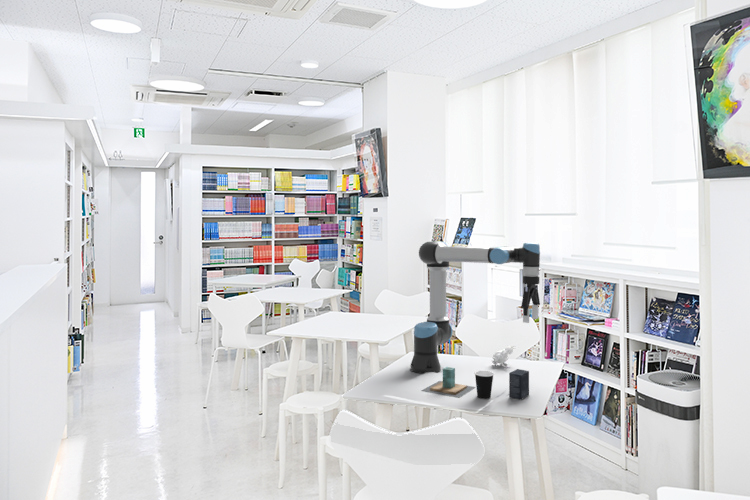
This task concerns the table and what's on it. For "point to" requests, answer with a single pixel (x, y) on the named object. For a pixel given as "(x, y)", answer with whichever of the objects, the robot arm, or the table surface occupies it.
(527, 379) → the box
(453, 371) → the lid
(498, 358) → the character figurine
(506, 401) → the table surface
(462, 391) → the mat
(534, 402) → the table surface
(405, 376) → the table surface
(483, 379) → the dixie cup
